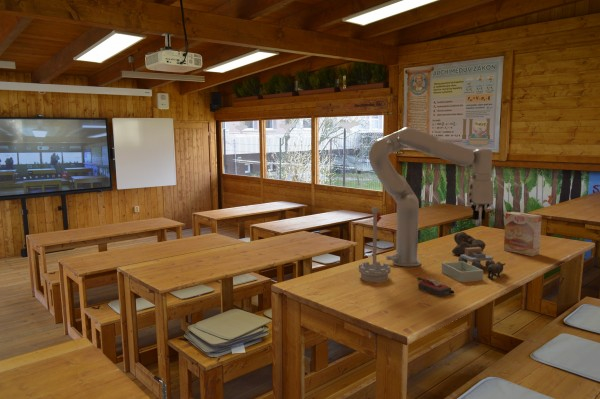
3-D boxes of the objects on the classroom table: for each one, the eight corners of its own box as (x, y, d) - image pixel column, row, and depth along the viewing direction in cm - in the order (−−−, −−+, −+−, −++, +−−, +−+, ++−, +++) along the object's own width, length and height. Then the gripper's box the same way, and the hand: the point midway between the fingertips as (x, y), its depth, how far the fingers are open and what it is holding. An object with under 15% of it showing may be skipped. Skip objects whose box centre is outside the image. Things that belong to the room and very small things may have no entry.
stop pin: (477, 226, 204) (478, 201, 202) (472, 224, 207) (473, 200, 205) (484, 225, 204) (486, 201, 203) (479, 224, 208) (481, 199, 206)
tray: (460, 282, 188) (461, 272, 188) (441, 272, 202) (441, 263, 201) (482, 280, 191) (483, 270, 190) (462, 270, 204) (462, 261, 204)
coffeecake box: (503, 250, 238) (505, 212, 235) (510, 248, 242) (512, 211, 239) (532, 256, 226) (535, 216, 223) (539, 254, 230) (542, 215, 227)
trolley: (474, 272, 201) (475, 254, 200) (456, 263, 215) (457, 246, 214) (497, 270, 204) (497, 252, 203) (477, 261, 217) (478, 245, 216)
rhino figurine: (508, 273, 199) (509, 260, 198) (494, 280, 190) (495, 266, 189) (498, 271, 202) (499, 258, 201) (484, 278, 193) (485, 264, 192)
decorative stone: (484, 248, 220) (454, 233, 225) (474, 267, 224) (444, 252, 229) (489, 239, 234) (460, 225, 239) (479, 257, 238) (451, 244, 243)
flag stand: (379, 285, 186) (380, 210, 182) (352, 278, 194) (352, 207, 190) (396, 277, 196) (397, 206, 191) (369, 271, 204) (370, 203, 200)
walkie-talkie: (458, 294, 175) (419, 280, 192) (459, 283, 174) (419, 270, 191) (442, 299, 170) (403, 284, 187) (442, 287, 170) (403, 273, 187)
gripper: (470, 178, 197) (467, 221, 200) (503, 178, 201) (500, 220, 204) (460, 177, 204) (457, 218, 207) (491, 176, 208) (489, 217, 211)
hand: (478, 218), depth 205 cm, fingers closed on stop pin, 2 cm apart
